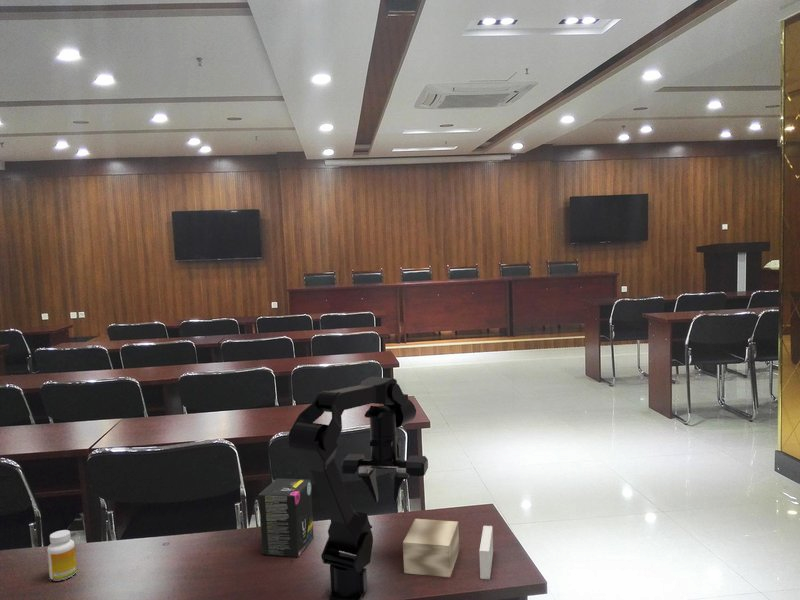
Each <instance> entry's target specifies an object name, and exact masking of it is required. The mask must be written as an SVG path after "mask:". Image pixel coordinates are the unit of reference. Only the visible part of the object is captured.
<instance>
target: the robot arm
mask: <svg viewBox="0 0 800 600" xmlns="http://www.w3.org/2000/svg"><path fill="white" fill-rule="evenodd" d="M371 404H374V405H371ZM375 404H377V405H378V406H377V405H376V406H375ZM367 405H370V407H369V408H368V410H367V411H365V413H364V417H365V418H369V426H370V427H369V431H370V433H369V434H370V441H369V447H370V451H371V453H370V454H371V456H370V457H371V459H369V458H367V459H366V458H365V457H366V456H365V455H364V454H363V453H348V455H346V456H345V458H343V460H342V461H341V465H340V469H341V472H340V471H339V469H338V466H337V463H336V461H335V456H336V453H337V451H338V450H337V449H338V442H337V440H338V438H339V436H341V435H340V434H341V432H342V431H343V422H342V421H343V419H342V416H343V413H344V411H347V410H350V409H355V408H357V407H358V408H359V407H363V406H367ZM325 412H326V413H331V419H330V421H329V423H328V424H323V423H316V422H315V421H317V420H318V419H319V418H320V417H321V416H322V415H324V413H325ZM416 415H417V409H416V406H415V405H414V403H413V401H411V400H410V399H409V395H408V394H405V393H404V392H403V391H402V388H401V387H400V385H399V384H398V381H397V379H396V378H390V377H380V376H369V377H367V378H365V379H363V380H361V383H360V384H359V385H354V386H348V387H343V388H338V389H334V390H323V391H320V392H319V393H318V394H317V395H316V397H315V399H314V400H313V402H312V403H311V404H309V405H308V406H307V407H306V408H305V409H304V410H302V411H301V412H300V413H299V414H298V415H297V417H296V420H295V421H294V422H293V425H292V426H291V429H290V430H289V433H288V436H287V441H288V446H289V449H290V450H291V452H292V453H293V454H294V457H296V459H297V460H299V462H301V463H302V464H303V465H305V466H306V467H307V468H308V470H309V472H310V473H311V477H312V478H313V481H314V483H315V487H316V488H317V491H318V493H319V496H320V498H321V500H322V502H323V505H324V507H325V510H326V512H327V514H328V517H329V520H330V524H329V527H328V530H327V534H328V537H327V540H326V543H325V545H324V548H323V550H322V552H321V555H320V557H321V560H322V563H323V564H325V565H326V564H327V565H329V576H330V579H329V580H330V592H329V594H328V600H362V597H363V595H364V594H365V592H366V591H367V588H368V577H367V576H368V572H367V568H366V567H367V565H369V564H370V562H371V557H372V551H373V542H374V535H373V531H372V528H373V525H371V523H370V520H369V516H368V515H367V513H366V512H362V511H357V510H354V508H353V507H354V506H353V505H352V502H351V500H350V496H349V494H348V492H347V490H346V486H345V484H344V481H343V479H342V476H341V473H342V474H343V475H344V474H346V475H347V474H348V475H350V474H351V475H355V474H356V473H357V472H358V474H357V478H361V479H362V481H363V483H364V484H365V485H366V486H367V489H368V490H369V493H370V495H371V496H372V498H373V501H374V502H375V503H378V502H379V491H378V482H377V469H381V470H382V469H384V470H385V469H386V470H396V473H395V474H394V476H393V501H394V504H397V503H398V500H399V497H400V493H401V489H402V486H403V483H404V481H405V480H408V479H409V477H424V476H425V475H426V472H427V471H428V469H429V459H428V458H427V456H426V455H409V457H408V459H405V460H404V459H402V460H400V457H401V456H402V447H403V446H402V445H403V444H402V443H403V442H402V441H401V440H398V434H397V429H398V428H400V427H402V426H405V425H406V424H408V423H410V422H412V421H413V420H414V419H415V417H416Z"/></svg>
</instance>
